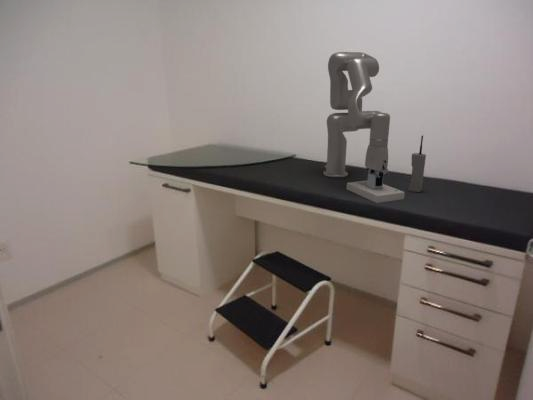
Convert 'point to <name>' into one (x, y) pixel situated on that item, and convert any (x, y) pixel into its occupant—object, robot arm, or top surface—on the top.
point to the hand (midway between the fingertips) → (375, 184)
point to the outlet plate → (375, 192)
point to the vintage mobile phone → (417, 170)
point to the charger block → (373, 181)
